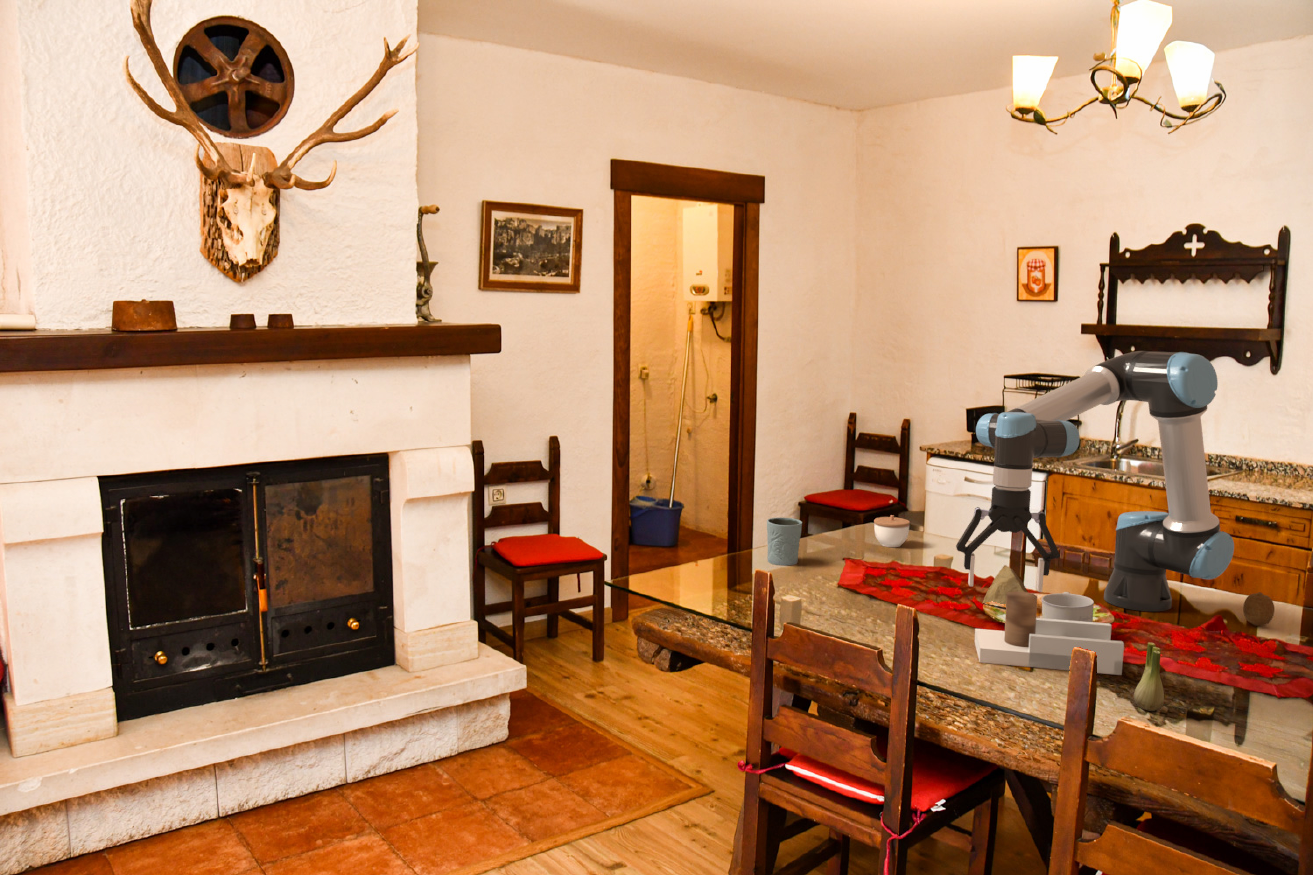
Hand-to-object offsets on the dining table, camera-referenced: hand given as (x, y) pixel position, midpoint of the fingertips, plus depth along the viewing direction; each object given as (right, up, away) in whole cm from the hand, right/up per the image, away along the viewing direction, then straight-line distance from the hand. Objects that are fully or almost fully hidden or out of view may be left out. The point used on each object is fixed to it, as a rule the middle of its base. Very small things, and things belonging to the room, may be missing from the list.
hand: (1004, 587), depth 203 cm
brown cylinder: (+3, -11, 0) cm, 12 cm away
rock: (+13, -11, +35) cm, 39 cm away
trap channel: (+8, -15, 0) cm, 17 cm away
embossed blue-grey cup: (-36, -5, +76) cm, 84 cm away
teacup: (+20, -13, +18) cm, 30 cm away
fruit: (+67, -13, +23) cm, 72 cm away
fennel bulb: (+17, -18, -26) cm, 36 cm away
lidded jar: (0, -2, +98) cm, 98 cm away
